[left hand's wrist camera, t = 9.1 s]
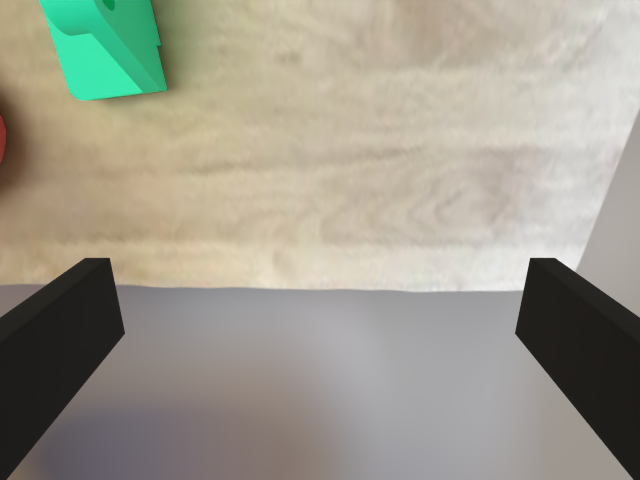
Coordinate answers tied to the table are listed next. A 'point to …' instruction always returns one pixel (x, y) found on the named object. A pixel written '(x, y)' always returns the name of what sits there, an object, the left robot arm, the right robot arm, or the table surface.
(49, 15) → the camera mount
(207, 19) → the table surface
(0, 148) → the toy
